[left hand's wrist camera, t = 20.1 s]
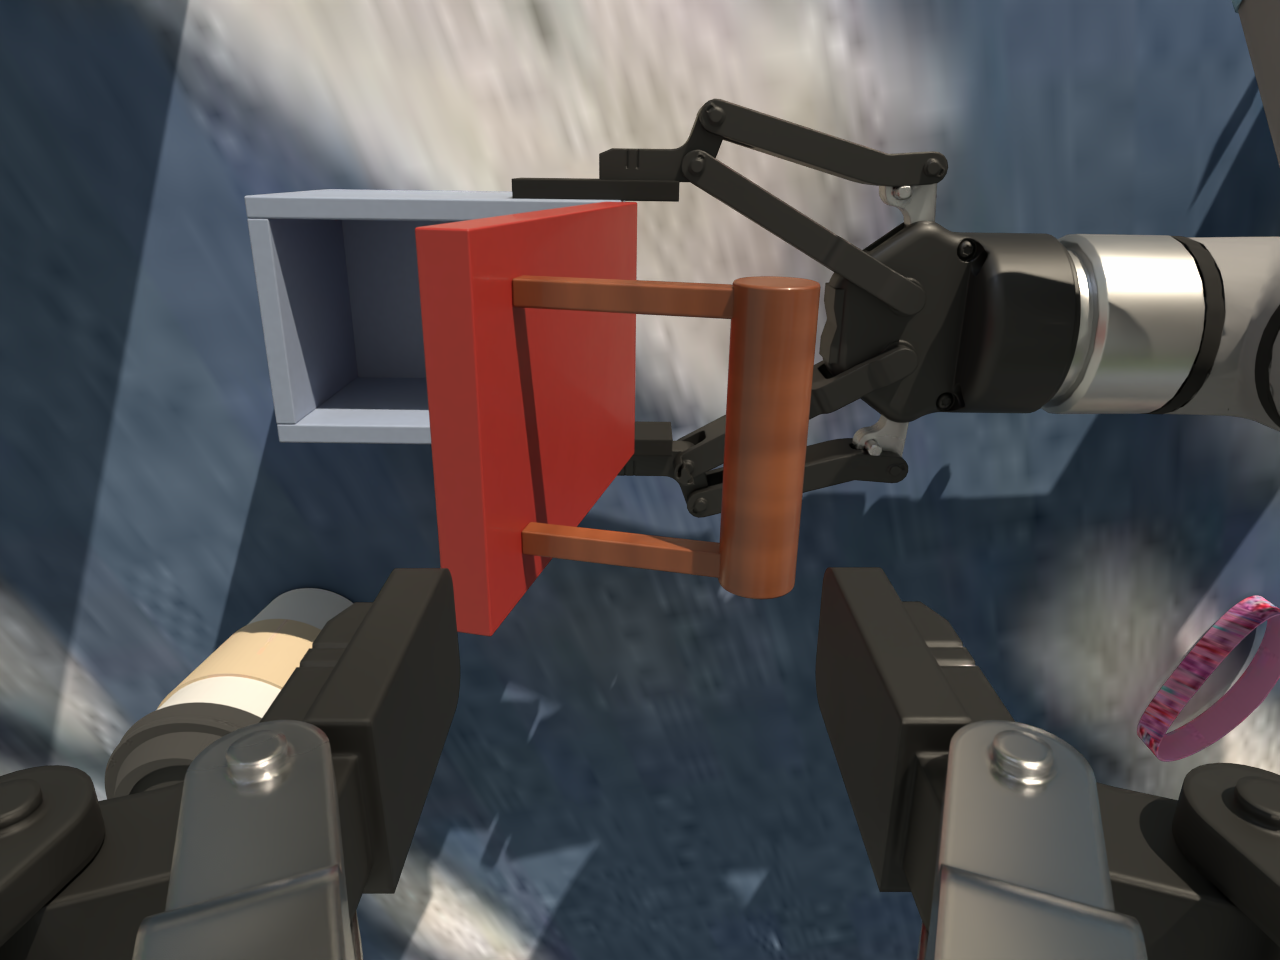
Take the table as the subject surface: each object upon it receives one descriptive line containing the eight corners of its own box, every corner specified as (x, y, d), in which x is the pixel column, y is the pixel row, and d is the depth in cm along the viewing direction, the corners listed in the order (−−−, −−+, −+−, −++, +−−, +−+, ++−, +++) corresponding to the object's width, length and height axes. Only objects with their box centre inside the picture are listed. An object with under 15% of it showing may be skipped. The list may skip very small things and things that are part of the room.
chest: (349, 388, 44) (278, 442, 35) (327, 189, 41) (243, 195, 32) (623, 391, 44) (620, 447, 36) (625, 193, 41) (621, 201, 32)
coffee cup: (337, 731, 51) (222, 944, 37) (209, 644, 49) (37, 835, 35) (427, 635, 49) (341, 824, 35) (297, 540, 47) (149, 700, 33)
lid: (444, 630, 21) (783, 679, 20) (413, 227, 18) (820, 240, 16) (604, 451, 35) (813, 469, 33) (604, 201, 32) (837, 207, 30)
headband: (1177, 753, 52) (1198, 777, 50) (1124, 729, 51) (1143, 753, 49) (1297, 613, 48) (1325, 633, 46) (1241, 586, 48) (1267, 605, 46)
